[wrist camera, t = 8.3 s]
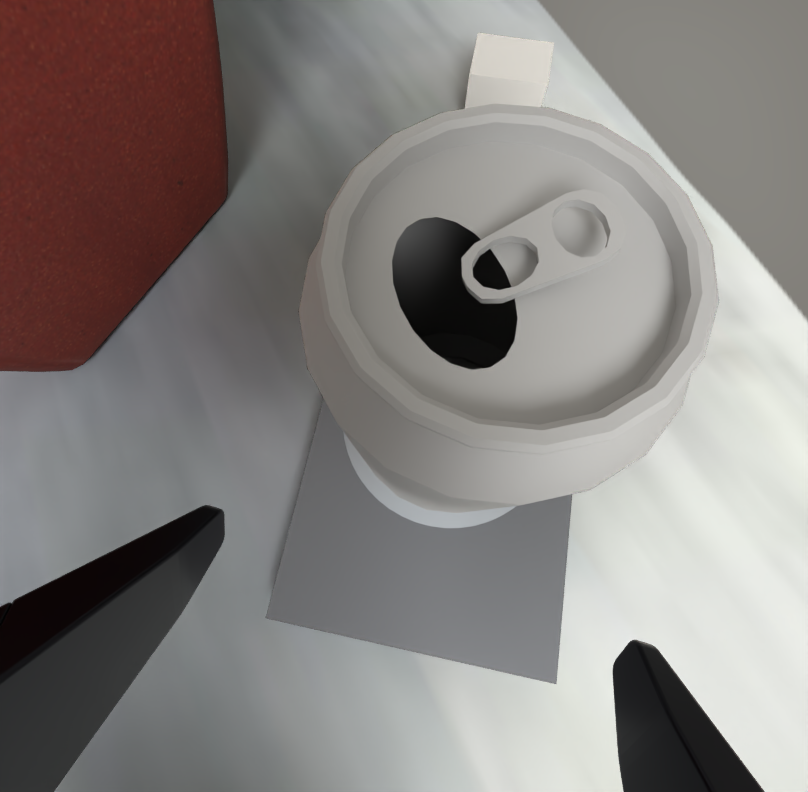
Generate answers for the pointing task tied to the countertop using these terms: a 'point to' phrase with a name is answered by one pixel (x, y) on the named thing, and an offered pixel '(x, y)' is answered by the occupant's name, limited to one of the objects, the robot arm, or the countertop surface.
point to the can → (506, 306)
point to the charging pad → (430, 517)
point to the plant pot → (100, 163)
